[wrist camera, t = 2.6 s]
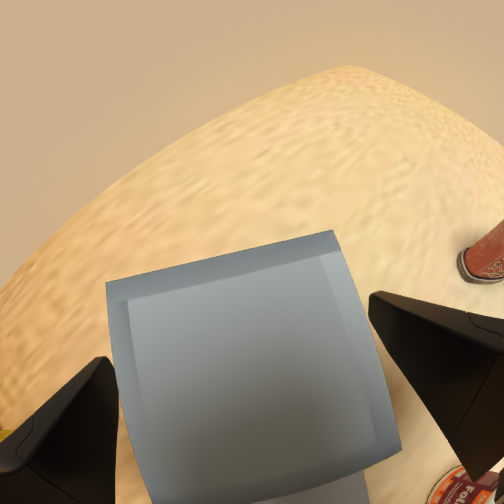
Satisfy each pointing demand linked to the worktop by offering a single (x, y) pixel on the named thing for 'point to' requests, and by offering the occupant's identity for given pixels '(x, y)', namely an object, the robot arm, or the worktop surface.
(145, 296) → the cover
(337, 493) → the coaster
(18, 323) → the worktop surface
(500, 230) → the lighter
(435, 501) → the pill bottle
